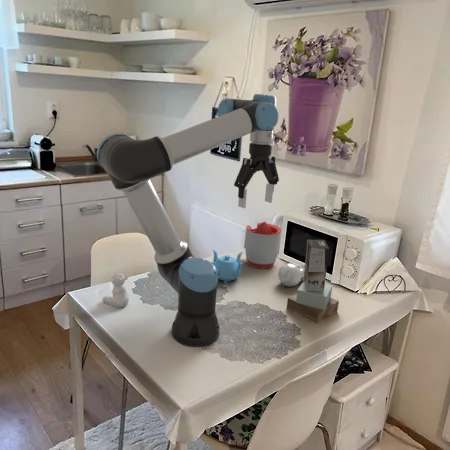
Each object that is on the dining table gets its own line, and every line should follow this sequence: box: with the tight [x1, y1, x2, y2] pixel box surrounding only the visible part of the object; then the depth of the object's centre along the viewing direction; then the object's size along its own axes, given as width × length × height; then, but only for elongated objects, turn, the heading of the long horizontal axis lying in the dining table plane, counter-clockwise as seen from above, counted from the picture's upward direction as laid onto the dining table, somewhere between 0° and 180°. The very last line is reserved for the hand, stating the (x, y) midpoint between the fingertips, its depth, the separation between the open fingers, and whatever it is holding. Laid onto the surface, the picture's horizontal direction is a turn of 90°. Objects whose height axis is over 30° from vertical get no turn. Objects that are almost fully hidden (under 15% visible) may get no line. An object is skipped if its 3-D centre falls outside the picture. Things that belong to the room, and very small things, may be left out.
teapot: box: [210, 249, 244, 284], centre depth 174 cm, size 13×13×10 cm
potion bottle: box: [277, 262, 305, 288], centre depth 174 cm, size 9×10×15 cm
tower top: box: [296, 281, 333, 310], centre depth 152 cm, size 10×10×5 cm
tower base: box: [286, 293, 340, 324], centre depth 154 cm, size 13×13×5 cm
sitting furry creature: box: [102, 272, 130, 309], centre depth 149 cm, size 10×9×12 cm
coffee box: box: [303, 239, 330, 292], centre depth 150 cm, size 9×6×16 cm
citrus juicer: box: [244, 221, 282, 269], centre depth 191 cm, size 16×17×20 cm
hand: (255, 204), depth 149 cm, fingers open, 13 cm apart
